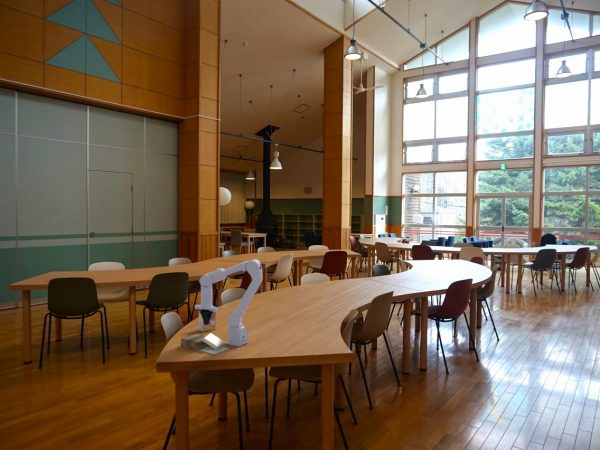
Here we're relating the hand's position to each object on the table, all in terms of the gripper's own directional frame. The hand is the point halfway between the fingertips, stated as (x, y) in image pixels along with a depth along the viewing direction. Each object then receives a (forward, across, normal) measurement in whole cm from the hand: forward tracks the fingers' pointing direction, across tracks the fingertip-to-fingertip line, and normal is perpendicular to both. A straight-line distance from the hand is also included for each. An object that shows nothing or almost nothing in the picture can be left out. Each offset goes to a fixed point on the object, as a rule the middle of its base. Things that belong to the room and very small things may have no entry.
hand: (206, 324), depth 217 cm
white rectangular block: (+7, -9, +5) cm, 12 cm away
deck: (+9, 0, +6) cm, 11 cm away
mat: (+9, -12, +7) cm, 16 cm away
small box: (+10, +17, -18) cm, 26 cm away
